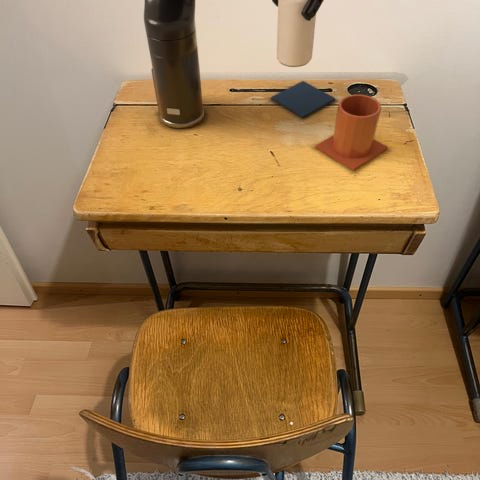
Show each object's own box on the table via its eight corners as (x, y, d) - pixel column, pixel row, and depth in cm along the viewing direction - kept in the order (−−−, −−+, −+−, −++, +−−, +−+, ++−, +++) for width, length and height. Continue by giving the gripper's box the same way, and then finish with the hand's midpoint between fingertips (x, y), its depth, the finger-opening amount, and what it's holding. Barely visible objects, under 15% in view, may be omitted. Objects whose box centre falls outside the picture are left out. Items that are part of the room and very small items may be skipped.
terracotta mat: (315, 147, 92) (315, 145, 92) (349, 128, 96) (349, 125, 95) (353, 171, 88) (354, 168, 87) (387, 149, 91) (388, 147, 91)
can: (274, 67, 83) (276, -10, 74) (278, 49, 87) (280, -26, 77) (310, 68, 83) (317, -9, 73) (312, 51, 86) (319, -25, 76)
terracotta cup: (323, 148, 92) (330, 105, 85) (349, 132, 95) (357, 89, 88) (352, 165, 89) (361, 122, 81) (378, 149, 91) (389, 106, 84)
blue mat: (270, 99, 103) (270, 96, 102) (302, 83, 106) (303, 80, 106) (302, 118, 98) (303, 115, 98) (335, 100, 102) (335, 98, 101)
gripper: (306, -126, 72) (249, -16, 78) (377, -108, 66) (310, 11, 71) (325, -90, 78) (272, 10, 84) (393, -70, 72) (330, 37, 77)
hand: (290, 10), depth 77 cm, fingers closed on can, 6 cm apart
